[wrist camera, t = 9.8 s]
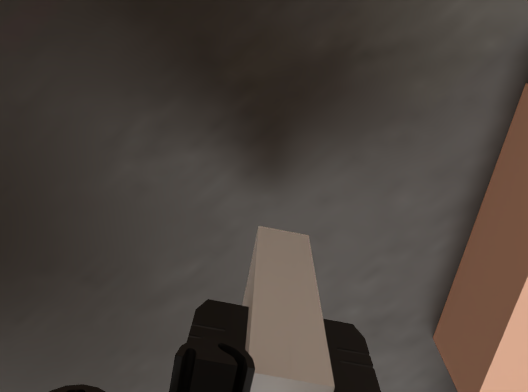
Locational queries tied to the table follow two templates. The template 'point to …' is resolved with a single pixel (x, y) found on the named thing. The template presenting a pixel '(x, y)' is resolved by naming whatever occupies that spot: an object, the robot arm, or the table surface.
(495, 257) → the t block
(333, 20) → the table surface
